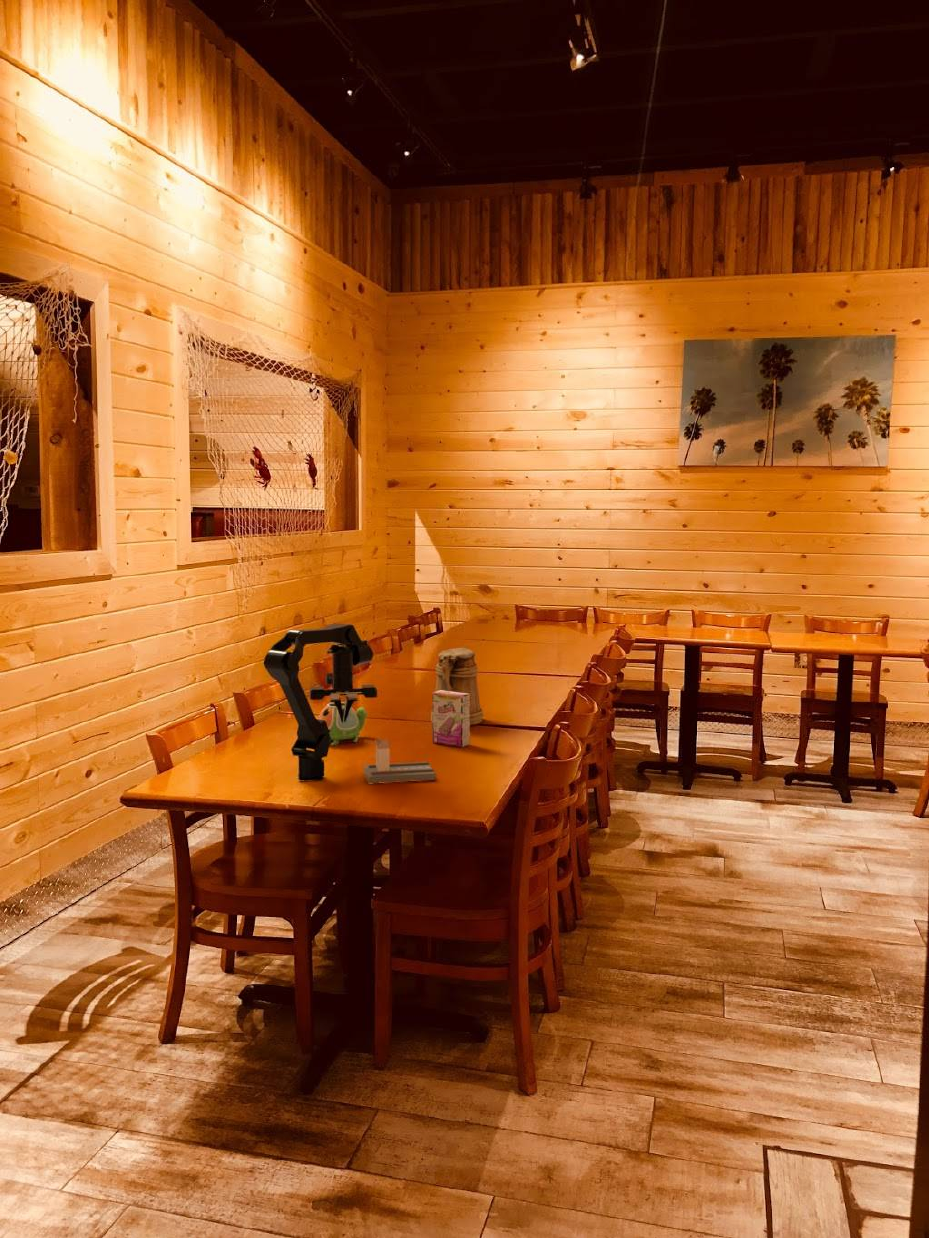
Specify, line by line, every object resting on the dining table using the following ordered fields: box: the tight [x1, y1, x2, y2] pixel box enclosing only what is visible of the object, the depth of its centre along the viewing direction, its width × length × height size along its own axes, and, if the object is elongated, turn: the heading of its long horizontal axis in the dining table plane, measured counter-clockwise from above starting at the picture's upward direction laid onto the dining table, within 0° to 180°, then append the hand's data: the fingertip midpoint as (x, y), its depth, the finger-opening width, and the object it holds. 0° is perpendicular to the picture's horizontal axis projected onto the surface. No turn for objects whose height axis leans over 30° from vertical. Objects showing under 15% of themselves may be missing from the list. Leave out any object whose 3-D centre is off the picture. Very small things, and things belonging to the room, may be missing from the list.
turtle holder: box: [318, 701, 368, 747], centre depth 310 cm, size 12×18×12 cm
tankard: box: [430, 647, 484, 727], centre depth 334 cm, size 18×24×25 cm
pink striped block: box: [375, 739, 391, 772], centre depth 268 cm, size 3×6×8 cm, turn 12°
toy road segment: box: [363, 761, 436, 783], centre depth 269 cm, size 18×12×3 cm, turn 102°
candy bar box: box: [432, 690, 471, 748], centre depth 305 cm, size 11×5×16 cm, turn 59°
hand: (343, 722), depth 278 cm, fingers closed
